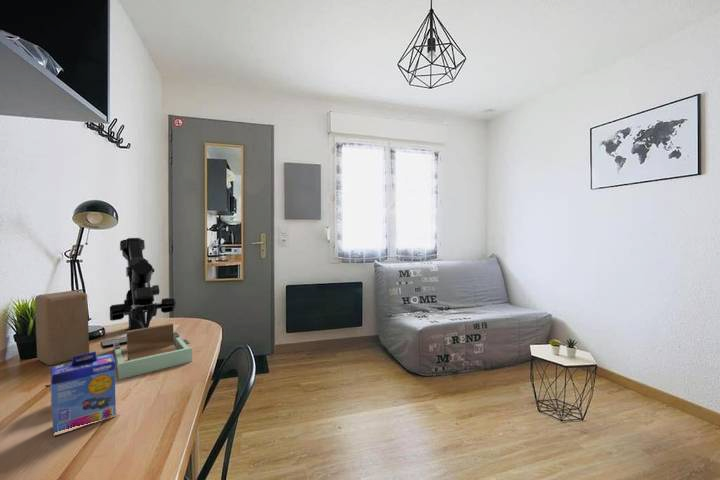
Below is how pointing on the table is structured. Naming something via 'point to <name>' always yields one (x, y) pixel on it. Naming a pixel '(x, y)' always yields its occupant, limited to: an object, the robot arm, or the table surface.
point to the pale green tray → (153, 359)
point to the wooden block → (61, 326)
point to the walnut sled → (150, 341)
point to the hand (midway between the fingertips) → (146, 329)
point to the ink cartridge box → (83, 391)
